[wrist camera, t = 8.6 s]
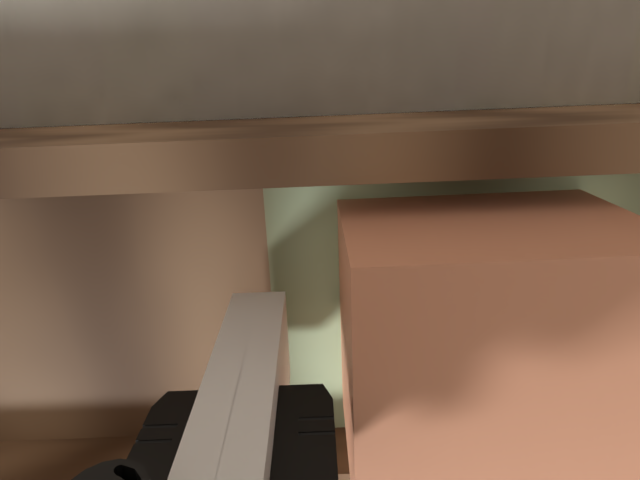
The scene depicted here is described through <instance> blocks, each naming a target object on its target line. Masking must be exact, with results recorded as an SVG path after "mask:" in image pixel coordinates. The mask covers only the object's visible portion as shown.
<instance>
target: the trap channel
mask: <svg viewBox="0 0 640 480" xmlns="http://www.w3.org/2000/svg"><path fill="white" fill-rule="evenodd" d="M576 189H581V190H583V191H585V192H587V193H590V194H592V195H594V196H597V197H599V198H601V199H603V200H606V201H608V202H610V203H612V204H615V205H617V206H619V207H622V208H624V209H626V210H628V211H631V212H633V213H635V214H637V215H640V103H638V104H612V105H587V106H562V107H537V108H512V109H486V110H461V111H436V112H411V113H386V114H361V115H335V116H310V117H285V118H260V119H235V120H209V121H184V122H159V123H134V124H109V125H84V126H58V127H33V128H8V129H0V480H71V479H73V478H74V477H75V476H77V475H78V474H80V473H81V472H82V471H84V470H85V469H87V468H89V467H92V466H94V465H96V464H99V463H101V462H104V461H109V460H115V459H127V457H128V455H129V453H130V451H131V448H132V446H133V444H135V442H136V441H135V440H136V438H137V436H138V434H139V432H140V430H141V429H142V428H143V423H144V421H145V419H146V417H147V415H148V413H149V411H150V409H151V407H152V406H153V405H154V404H155V403H156V402H157V401H158V400H159V399H160V398H161V397H162V396H163V395H164V394H165V393H166V392H167V391H187V390H199V388H200V385H201V382H202V379H203V376H204V374H205V371H206V368H207V365H208V362H209V359H210V356H211V354H212V351H213V348H214V345H215V342H216V339H217V337H218V334H219V331H220V328H221V325H222V322H223V320H224V317H225V314H226V311H227V308H228V305H229V303H230V300H231V297H232V294H233V293H257V292H283V291H285V295H286V311H287V326H288V342H289V358H290V385H301V384H323V385H324V386H325V388H326V389H327V390H328V392H329V393H330V395H331V396H332V398H333V407H334V422H335V436H336V451H337V466H338V480H350V472H349V461H348V451H347V440H346V430H345V419H344V409H343V392H342V356H341V321H340V285H339V250H338V214H337V200H342V199H365V198H388V197H412V196H435V195H459V194H482V193H506V192H529V191H552V190H576Z"/></svg>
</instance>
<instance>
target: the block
mask: <svg viewBox="0 0 640 480" xmlns="http://www.w3.org/2000/svg"><path fill="white" fill-rule="evenodd" d="M337 214H338V250H339V285H340V321H341V356H342V392H343V409H344V419H345V430H346V440H347V451H348V461H349V472H350V480H640V215H637V214H635V213H633V212H631V211H628V210H626V209H624V208H622V207H619V206H617V205H615V204H612V203H610V202H608V201H606V200H603V199H601V198H599V197H597V196H594V195H592V194H590V193H587V192H585V191H583V190H581V189H576V190H552V191H529V192H506V193H482V194H459V195H435V196H412V197H388V198H365V199H342V200H337Z"/></svg>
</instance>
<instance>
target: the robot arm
mask: <svg viewBox="0 0 640 480" xmlns="http://www.w3.org/2000/svg"><path fill="white" fill-rule="evenodd" d="M135 441H136V442H135V444H133V446H132V448H131V451H130V453H129V455H128V457H127V459H115V460H109V461H104V462H101V463H99V464H96V465H94V466H92V467H89V468H87V469H85V470H84V471H82V472H81V473H80V474H78V475H77V476H75V477H74V478H73V479H71V480H338V466H337V451H336V436H335V422H334V407H333V398H332V396H331V395H330V393H329V392H328V390H327V389H326V388H325V386H324V385H323V384H301V385H290V358H289V342H288V326H287V311H286V295H285V291H283V292H257V293H233V294H232V297H231V300H230V303H229V305H228V308H227V311H226V314H225V317H224V320H223V322H222V325H221V328H220V331H219V334H218V337H217V339H216V342H215V345H214V348H213V351H212V354H211V356H210V359H209V362H208V365H207V368H206V371H205V374H204V376H203V379H202V382H201V385H200V388H199V390H187V391H167V392H166V393H165V394H164V395H163V396H162V397H161V398H160V399H159V400H158V401H157V402H156V403H155V404H154V405H153V406H152V407H151V409H150V411H149V413H148V415H147V417H146V419H145V421H144V423H143V428H142V429H141V430H140V432H139V434H138V436H137V438H136V440H135Z"/></svg>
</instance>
